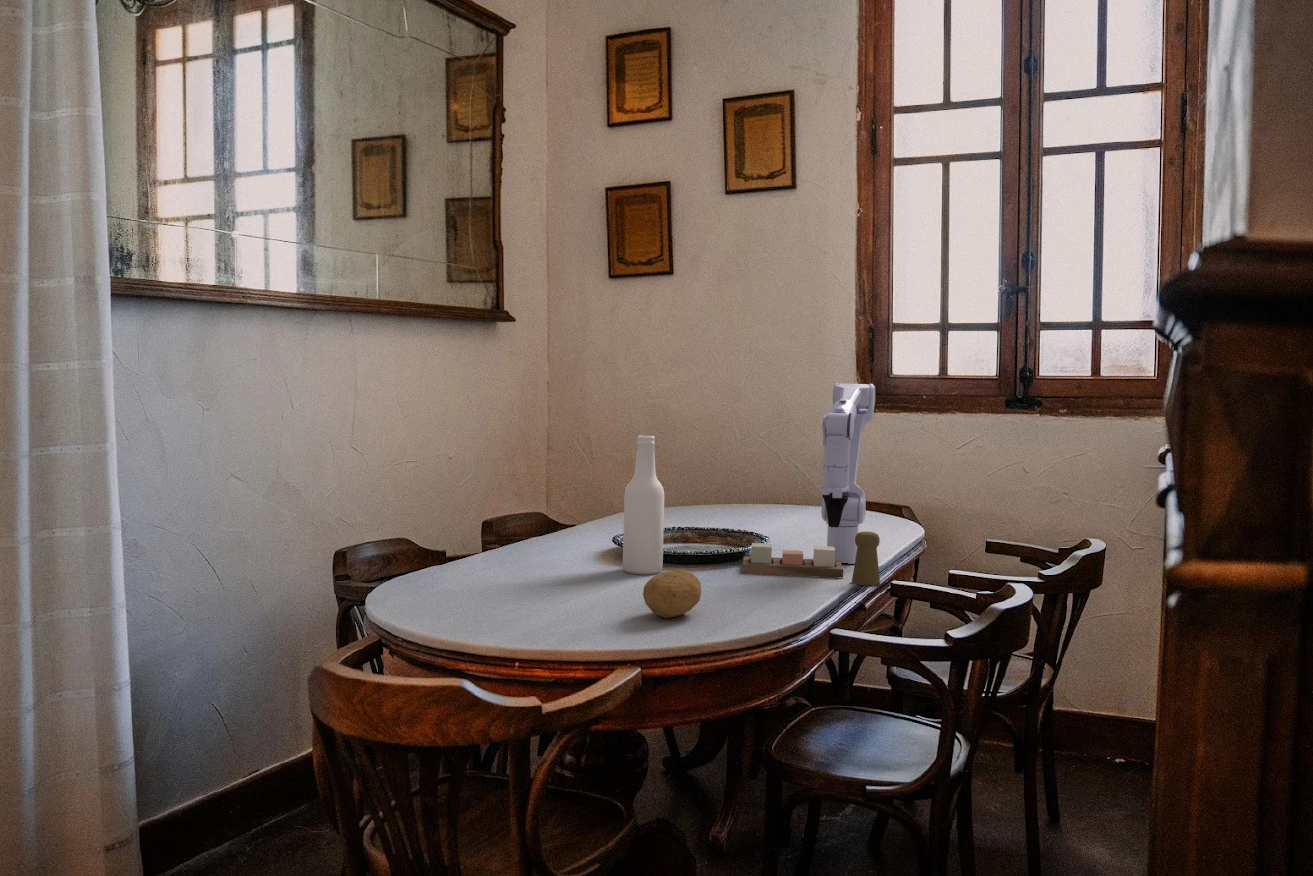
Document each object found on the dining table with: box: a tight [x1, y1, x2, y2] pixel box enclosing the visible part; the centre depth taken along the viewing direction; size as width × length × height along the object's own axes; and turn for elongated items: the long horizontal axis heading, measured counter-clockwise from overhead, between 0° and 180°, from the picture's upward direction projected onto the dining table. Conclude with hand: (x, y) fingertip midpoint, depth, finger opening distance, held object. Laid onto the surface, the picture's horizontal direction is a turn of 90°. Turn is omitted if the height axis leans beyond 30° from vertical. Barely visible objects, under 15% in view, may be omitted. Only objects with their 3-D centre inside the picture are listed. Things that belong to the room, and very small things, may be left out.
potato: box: [642, 568, 702, 619], centre depth 188 cm, size 10×14×8 cm
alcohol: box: [622, 434, 665, 576], centre depth 227 cm, size 9×9×30 cm
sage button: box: [750, 542, 773, 564], centre depth 233 cm, size 4×4×4 cm
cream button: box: [812, 545, 835, 567], centre depth 231 cm, size 4×4×4 cm
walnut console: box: [742, 555, 844, 578], centre depth 232 cm, size 10×22×2 cm, turn 84°
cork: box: [851, 530, 881, 586], centre depth 221 cm, size 6×6×11 cm
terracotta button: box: [781, 549, 804, 565], centre depth 232 cm, size 4×4×4 cm
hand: (833, 526), depth 231 cm, fingers closed
